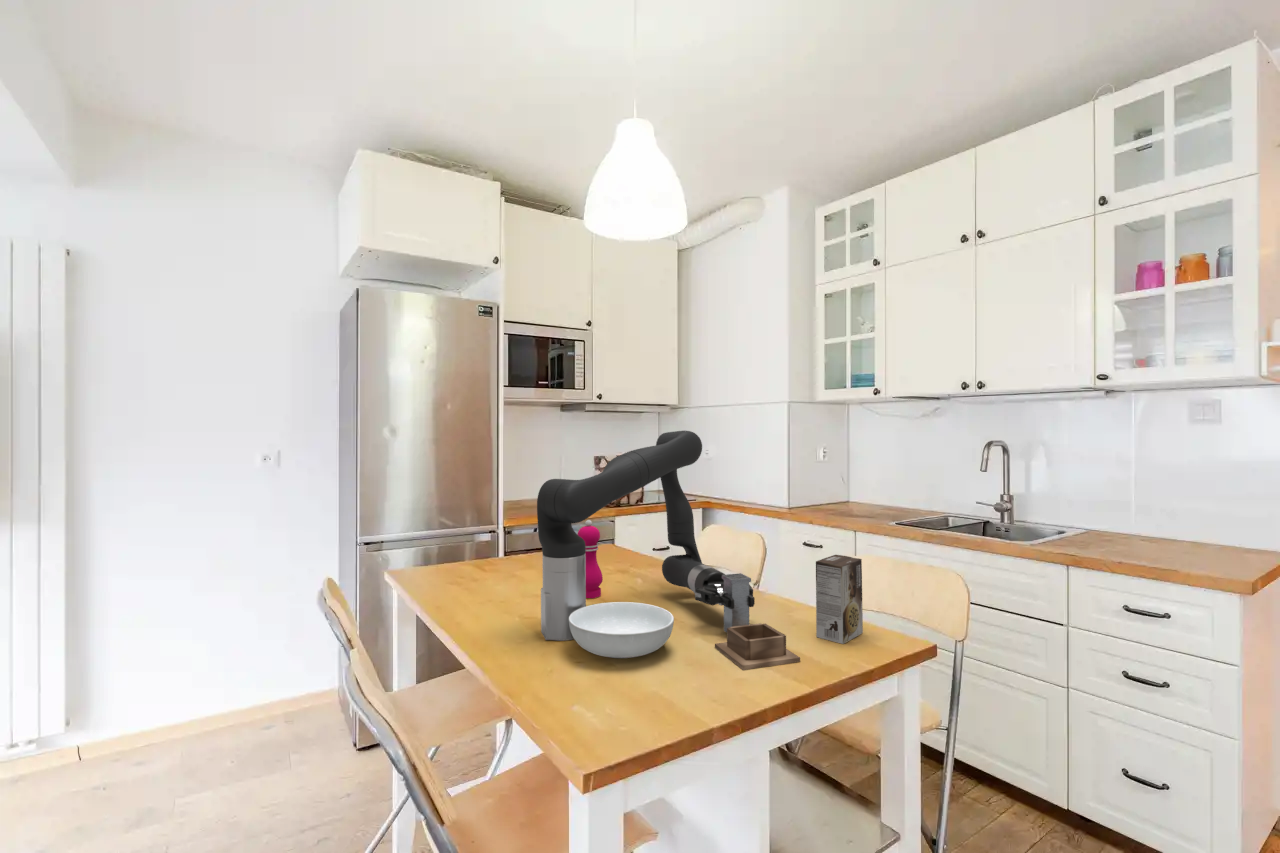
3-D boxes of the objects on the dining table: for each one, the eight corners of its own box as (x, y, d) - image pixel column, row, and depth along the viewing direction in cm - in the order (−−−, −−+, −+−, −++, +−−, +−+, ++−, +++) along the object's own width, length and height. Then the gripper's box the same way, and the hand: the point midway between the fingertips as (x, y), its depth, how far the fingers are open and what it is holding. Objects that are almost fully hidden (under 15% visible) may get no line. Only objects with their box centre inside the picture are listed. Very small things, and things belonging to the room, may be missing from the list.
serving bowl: (642, 679, 108) (641, 640, 108) (547, 658, 118) (547, 622, 118) (691, 643, 126) (691, 609, 126) (605, 627, 136) (605, 596, 136)
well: (742, 669, 111) (742, 645, 111) (714, 647, 123) (714, 625, 123) (800, 661, 115) (800, 638, 115) (767, 640, 126) (767, 619, 126)
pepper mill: (601, 599, 158) (601, 521, 158) (573, 599, 158) (573, 522, 158) (603, 591, 165) (603, 517, 165) (577, 591, 166) (576, 518, 166)
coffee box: (835, 627, 135) (835, 553, 135) (863, 633, 130) (863, 558, 130) (814, 637, 129) (814, 560, 129) (843, 644, 124) (843, 565, 124)
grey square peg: (731, 637, 128) (731, 579, 128) (721, 630, 132) (721, 574, 132) (751, 634, 129) (751, 578, 129) (741, 628, 134) (740, 573, 134)
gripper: (680, 569, 142) (711, 588, 126) (735, 565, 147) (772, 582, 130) (680, 602, 142) (711, 624, 126) (735, 596, 147) (772, 618, 130)
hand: (742, 603), depth 128 cm, fingers closed on grey square peg, 4 cm apart
